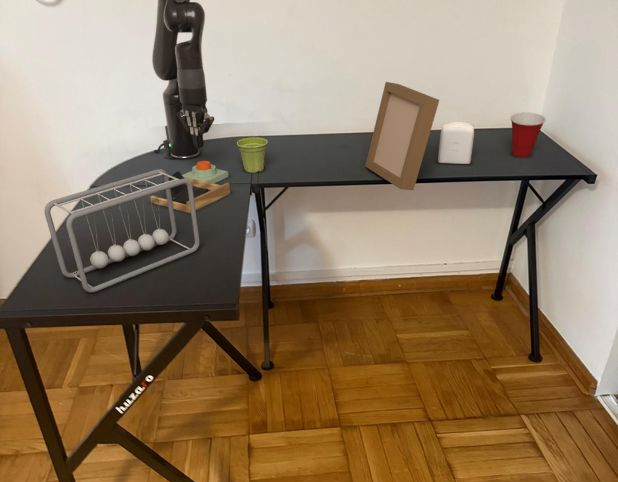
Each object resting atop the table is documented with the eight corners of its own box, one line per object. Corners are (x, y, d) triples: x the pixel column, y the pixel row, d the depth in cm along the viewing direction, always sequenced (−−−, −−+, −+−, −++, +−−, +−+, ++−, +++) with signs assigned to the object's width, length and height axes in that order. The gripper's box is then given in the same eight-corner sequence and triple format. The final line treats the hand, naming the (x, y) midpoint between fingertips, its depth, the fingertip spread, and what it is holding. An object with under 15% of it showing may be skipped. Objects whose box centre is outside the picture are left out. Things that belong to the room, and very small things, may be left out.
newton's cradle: (86, 296, 125) (65, 217, 115) (63, 280, 132) (40, 203, 121) (201, 250, 143) (192, 176, 132) (176, 237, 149) (165, 166, 138)
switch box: (181, 180, 181) (180, 169, 179) (203, 171, 188) (202, 160, 186) (207, 187, 177) (205, 175, 175) (228, 176, 183) (227, 165, 181)
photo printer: (437, 163, 190) (441, 123, 183) (437, 159, 193) (442, 119, 186) (470, 165, 188) (476, 125, 181) (470, 161, 192) (476, 121, 184)
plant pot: (264, 175, 184) (263, 147, 178) (235, 174, 185) (232, 145, 180) (272, 165, 191) (270, 138, 186) (244, 164, 193) (241, 136, 188)
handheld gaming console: (199, 200, 164) (174, 169, 161) (180, 215, 166) (156, 185, 163) (211, 190, 174) (188, 162, 171) (193, 205, 176) (170, 177, 174)
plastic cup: (501, 158, 193) (508, 119, 186) (506, 148, 201) (512, 111, 194) (536, 161, 190) (544, 122, 183) (539, 151, 198) (547, 114, 191)
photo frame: (400, 192, 170) (407, 100, 156) (365, 169, 187) (368, 83, 172) (444, 184, 175) (455, 94, 160) (406, 162, 191) (412, 78, 177)
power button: (194, 169, 180) (193, 163, 179) (203, 165, 183) (202, 160, 182) (204, 171, 178) (204, 166, 177) (213, 167, 181) (212, 162, 180)
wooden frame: (151, 203, 167) (149, 192, 165) (192, 184, 179) (191, 174, 177) (190, 213, 161) (188, 202, 159) (230, 193, 172) (229, 183, 170)
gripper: (218, 85, 166) (224, 148, 176) (184, 79, 172) (191, 140, 182) (200, 90, 161) (206, 154, 171) (165, 84, 167) (173, 146, 177)
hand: (198, 147), depth 176 cm, fingers closed
